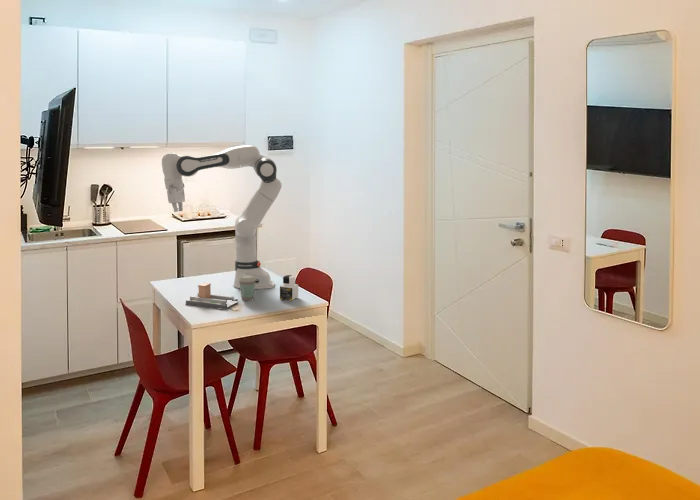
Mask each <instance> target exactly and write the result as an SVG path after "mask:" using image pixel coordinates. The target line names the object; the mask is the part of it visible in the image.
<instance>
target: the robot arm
mask: <svg viewBox="0 0 700 500" xmlns="http://www.w3.org/2000/svg"><path fill="white" fill-rule="evenodd" d="M245 167H251V168H253V169H254V171H255V174H256V175H257V176H258V177H259V178H260V179H261V182H260V184H259V186H258V188H257V189H256V191H255V192H254V193H253V195H252V196H251V198H250V199H249V201H248V203H247V204H246V206H245V207H244V210H243V211H242V212H241V214H240V215H238V216H237V217H236V219H235V223H234V230H235V231H234V232H235V234H234V235H235V260H234V270H235V275H234V276H235V277H234V282H233V284H232V286H233V287H234V288H236V289H240V282H239V278H240V276H241V275H254V276H255V278H256V280H255V288H254V290H265V289H272V288H274V287H275V286H276V285H275V281H274V280H271V276H270V272H268V271H266V269H264V268H262V267H261V264H262V263H261V261H260V260H258V259H257V233H256V231H257V229H258V228H259V226H260V224H261V223H262V221H263V220H264V218H265V216H266V214H267V213H268V211H269V210H270V208H271V207H272V205H273V204H274V202H275V200H276V199H277V197H278V196H279V194H280V191H281V189H282V183H281V180H280V179H278V178H277V165H276V163H275V161H274V160H273V159H272V158H269V157H267V156H264V155H261V154H260V151H259V149H258V147H257V146H255V145H239V146H234V147H230V148H227V149H225V150H222V151H220V152H217V153H215V154H211V155H209V154H208V155H206V156H205V155H204V156H200V157H199V156H198V157H194V156H191V155H190V156H189V155H184V156H183V155H180V154H178V153H176V152H169V153H167V154H165V155H163V156H162V158H161V168H162V172H163V176H164V178H163V180H164V186H165V189H166V195H167V200H168V201H167V202H168V203H169V204H171V205H172V209H173V212H174V213H177V212H183V211H184V210H183V209H184V208H183V207H184V206H183V203H184V202H185V200H186V197H185V195H186V194H185V189H184V188H185V184H184V182H183V181H184V180H183V176H185V177H193V176H195V175H197V173H198V171H202V170H207V169H212V168H222V169H227V170H229V169H230V170H235V169H241V168H245Z"/></svg>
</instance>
